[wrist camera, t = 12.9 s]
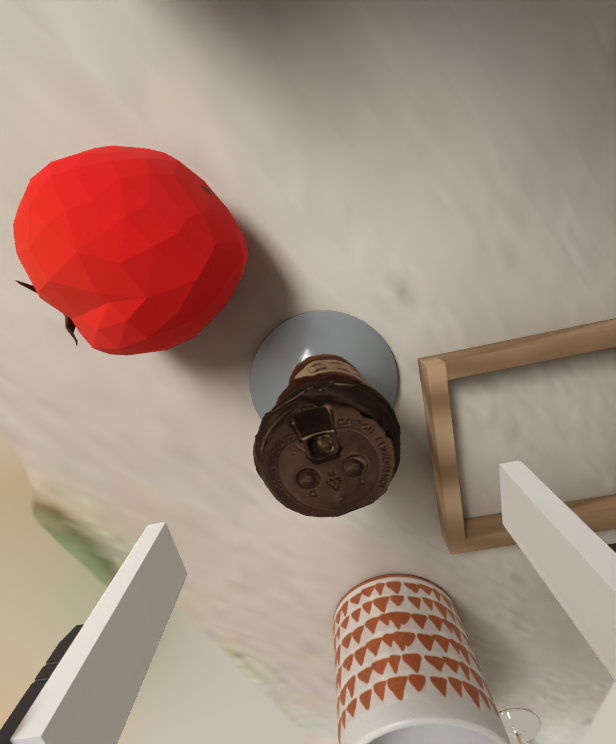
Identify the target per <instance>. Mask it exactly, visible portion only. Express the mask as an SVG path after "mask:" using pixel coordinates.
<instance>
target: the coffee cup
mask: <svg viewBox="0 0 616 744" xmlns="http://www.w3.org/2000/svg"><path fill="white" fill-rule="evenodd" d="M400 433H401V432H400V425H399V423H398V420H397V418H396V416H395V412H394V410H393V409H392V407H391V405H390V403H389V402H388V401H387V399H386V398H384V396H383V395H382V394H380V393H379V392H378V391H377V390H376V389H373V388H372V387H371V386H370V385H369V384H368V383H367V382H366V381H365V380H364V379H363V378H362V376H361V375H360V374H359V373H358V372H357V370H356V369H355V367H353V366H352V365H351V364H350V363H349V362H348V361H346V360H345V359H344V358H342V357H340V356H337V355H332V354H319V355H315V356H309V357H307V358H306V359H304V360H303V361H301V362H299V363H297V364H296V365H295V366H294V369H293V372H292V374H291V375H290V377H289V385H288V387H287V388H286V389H285V390H283V392H282V393H281V395H280V396H279V397H278V399H277V402H276V405H275V406H274V407H273V408H272V410H271V411H270V412H267V413H265V416H264V417H263V418H262V421H261V424H260V427H259V430H258V433H257V434H256V436H255V443H254V446H253V456H254V463H255V466H256V470H257V472H258V474H259V476H260V477H261V478H262V479H263V481H264V483H265V485H266V486H267V487H268V489H269V490H270V492H271V493H272V494H273V496H274V497H275V498H276V499H277V500H278V501H279V502H280V503H281V504H283V505H284V506H285V507H287V508H289V509H291V510H293V511H295V512H298V513H300V514H302V515H306V516H313V517H338V516H341V515H343V514H346V513H349V512H351V511H354V510H357V509H359V508H362V507H365V506H367V505H370V504H372V503H374V502H375V501H376V500H377V499H379V497H381V495H383V494H384V493H385V492H386V490H387V488H388V486H389V483H390V482H391V480H392V478H393V477H394V475H395V473H396V471H397V468H398V466H399V462H400V445H401V443H400Z"/></svg>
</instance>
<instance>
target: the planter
mask: <svg viewBox="0 0 616 744" xmlns="http://www.w3.org/2000/svg"><path fill="white" fill-rule="evenodd" d="M333 636H334V658H335V680H336V701H337V723H338V744H511V742H510V739H509V737H508V735H507V732H506V730H505V727H504V725H503V722H502V720H501V718H500V715H499V713H498V710H497V708H496V705H495V703H494V701H493V698H492V696H491V693H490V691H489V688H488V686H487V684H486V681H485V679H484V676H483V674H482V671H481V669H480V666H479V664H478V662H477V659H476V657H475V654H474V652H473V649H472V647H471V645H470V642H469V640H468V637H467V635H466V632H465V630H464V628H463V625H462V623H461V620H460V618H459V615H458V613H457V611H456V608H455V606H454V604H453V602H452V601H451V599H450V598H449V596H448V595H447V594H446V593H445V592H444V591H443V590H442V589H440V588H439V587H438V586H436V585H435V584H433V583H431V582H429V581H427V580H425V579H422V578H419V577H415V576H411V575H402V574H392V575H383V576H379V577H375V578H372V579H369V580H366V581H364V582H362V583H360V584H358V585H357V586H355V587H354V588H353V589H351V590H350V591H349V592H348V593H347V594H346V595H345V596H344V597H343V598H342V600H341V601H340V603H339V604H338V606H337V608H336V611H335V614H334V619H333Z"/></svg>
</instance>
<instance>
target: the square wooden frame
mask: <svg viewBox="0 0 616 744" xmlns="http://www.w3.org/2000/svg"><path fill="white" fill-rule="evenodd" d="M613 347H616V318H615V319H610V320H605V321H601V322H596V323H591V324H586V325H581V326H576V327H571V328H566V329H561V330H557V331H552V332H547V333H542V334H537V335H532V336H527V337H522V338H517V339H513V340H508V341H503V342H498V343H493V344H488V345H483V346H478V347H473V348H468V349H464V350H459V351H454V352H449V353H444V354H439V355H434V356H429V357H424V358H420V359H418V365H419V372H420V380H421V387H422V394H423V401H424V409H425V416H426V423H427V430H428V438H429V445H430V452H431V459H432V467H433V474H434V481H435V488H436V495H437V503H438V510H439V517H440V524H441V532H442V536H443V538H444V540H445V543H446V545H447V547H448V549H449V551H450V553H451V554H457V553H464V552H470V551H477V550H483V549H489V548H496V547H502V546H509V545H515V544H517V543H516V542H515V541H514V539H513V538H512V536H511V535H510V534H509V532H508V531H507V529H506V528H505V527H504V525H503V520H502V513H499V514H493V515H487V516H481V517H475V518H469V519H463V512H462V504H461V495H460V486H459V478H458V469H457V461H456V452H455V443H454V435H453V426H452V417H451V409H450V400H449V391H448V383H447V380H451V379H456V378H461V377H466V376H471V375H476V374H481V373H486V372H491V371H496V370H501V369H507V368H512V367H517V366H522V365H527V364H532V363H537V362H542V361H547V360H552V359H557V358H562V357H567V356H572V355H577V354H582V353H587V352H592V351H598V350H603V349H608V348H613ZM564 504H565V505H566V506H568V507H569V508H570V509H571V510H572V511H573V512H574V513H575V514H576V515H577V516H578V517H579V518H580V519H581V520H582V521H583V522H584V523H585V524H586V525H587V526H588V527H589V528H590V529H591V530H592V531H593V532H598V531H605V530H611V529H616V494H615V495H609V496H603V497H597V498H591V499H585V500H578V501H572V502H566V503H564Z"/></svg>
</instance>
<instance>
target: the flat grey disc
mask: <svg viewBox="0 0 616 744" xmlns="http://www.w3.org/2000/svg"><path fill="white" fill-rule="evenodd" d="M319 354H332V355H337V356H340V357H342V358H344V359H345V360H346V361H348V362H349V363H350V364H351V365H352V366H353V367H355V369H356V370H357V372H358V373H359V374H360V375H361V376H362V378H363V379H364V380H365V381H366V382H367V383H368V384H369V385H370V386H371V387H372V388H373V389H376V390H377V391H378V392H379V393H380V394H382V395H383V396H384V398H386V399H387V401H388V402H389V403H390V405H391V407H392V408H393V405H394V402H395V399H396V394H397V388H398V375H397V368H396V364H395V360H394V358H393V355H392V353H391V351H390V349H389V347H388V345H387V344H386V342H385V341H384V340H383V338H382V337H381V336H380V335H379V334H378V333H377V332H376V331H375V330H374V329H373V328H372V327H370V326H369V325H368V324H366V323H365V322H363V321H362V320H360V319H358V318H356V317H353V316H351V315H348V314H345V313H341V312H336V311H313V312H307V313H303V314H300V315H297V316H295V317H292V318H290V319H288V320H287V321H285V322H283V323H282V324H280V325H279V326H278V327H276V328H275V329H274V330H273V331H272V332H271V333H270V334H269V335H268V336H267V337H266V339H265V340H264V341H263V343H262V344H261V346H260V347H259V349H258V351H257V353H256V355H255V358H254V361H253V363H252V368H251V373H250V391H251V396H252V400H253V403H254V406H255V409H256V411H257V413H258V414H259V416H260V418H261V419H262V418H263V417H264V416H265V413H267V412H270V411H271V410H272V408H273V407H274V406H275V405H276V402H277V399H278V397H279V396H280V395H281V393H282V392H283V390H285V389H286V388H287V387H288V385H289V377H290V375H291V374H292V372H293V369H294V366H295V365H296V364H297V363H299V362H301V361H303V360H304V359H306V358H307V357H309V356H315V355H319Z"/></svg>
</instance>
